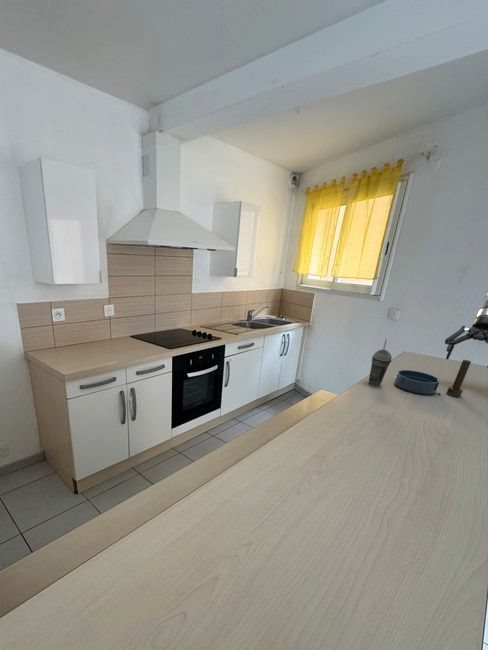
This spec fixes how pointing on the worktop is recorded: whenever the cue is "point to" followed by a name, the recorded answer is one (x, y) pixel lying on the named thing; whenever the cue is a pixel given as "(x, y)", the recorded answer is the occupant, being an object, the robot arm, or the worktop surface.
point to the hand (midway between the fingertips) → (467, 361)
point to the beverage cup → (379, 366)
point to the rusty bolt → (459, 380)
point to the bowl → (416, 382)
